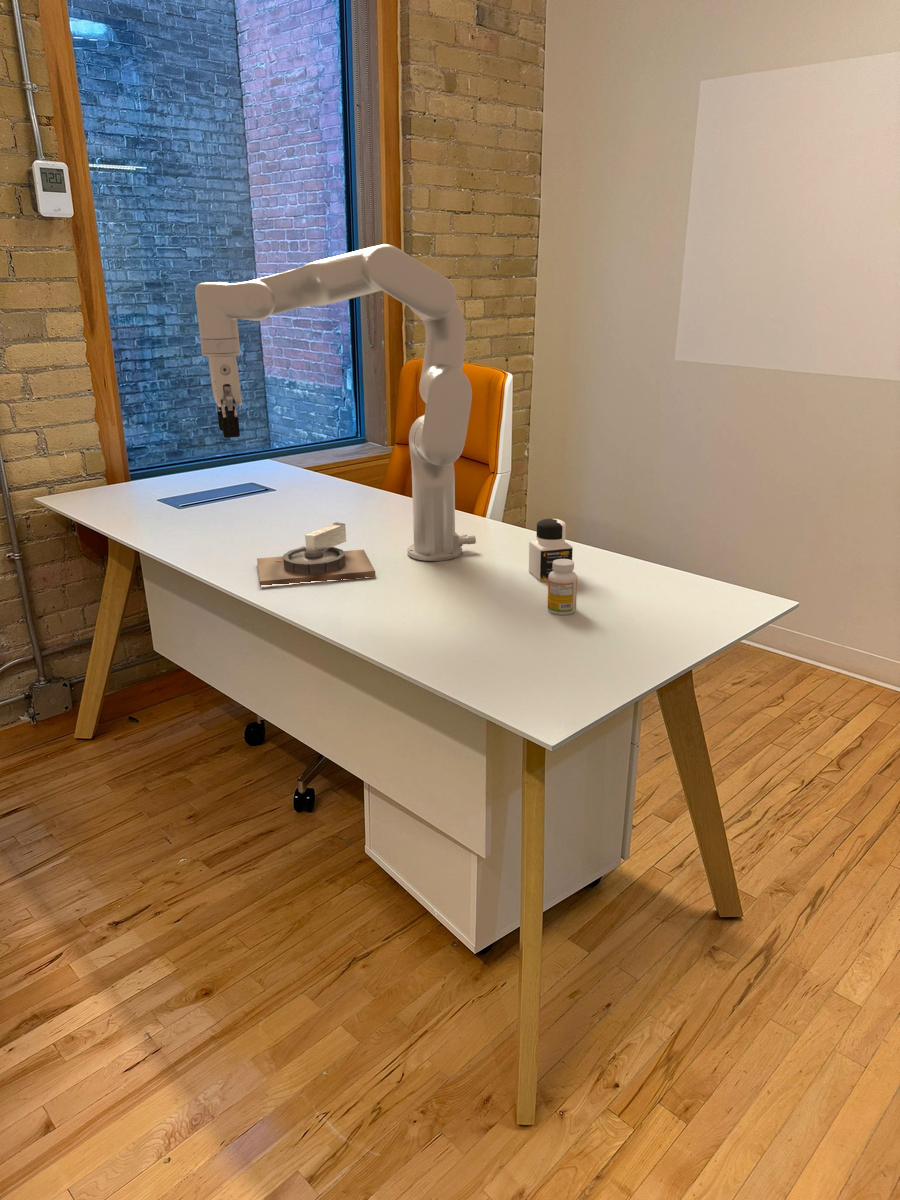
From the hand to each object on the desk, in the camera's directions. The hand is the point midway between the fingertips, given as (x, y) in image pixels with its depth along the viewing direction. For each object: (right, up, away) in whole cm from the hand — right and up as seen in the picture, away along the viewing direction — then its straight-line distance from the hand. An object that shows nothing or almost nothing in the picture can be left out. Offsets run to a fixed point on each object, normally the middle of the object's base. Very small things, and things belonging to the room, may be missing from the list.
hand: (229, 433), depth 178 cm
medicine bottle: (+67, -30, +5) cm, 73 cm away
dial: (+18, -26, +11) cm, 33 cm away
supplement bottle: (+67, -37, -15) cm, 78 cm away
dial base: (+16, -28, +9) cm, 34 cm away
